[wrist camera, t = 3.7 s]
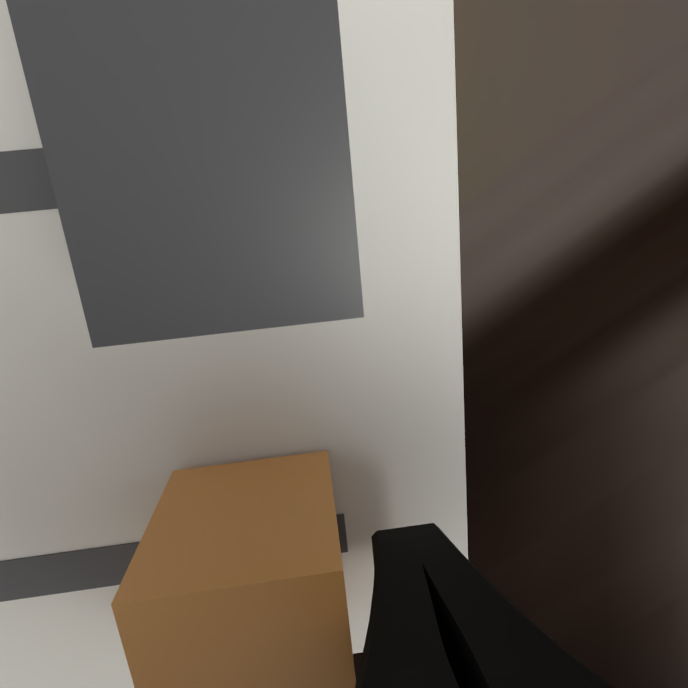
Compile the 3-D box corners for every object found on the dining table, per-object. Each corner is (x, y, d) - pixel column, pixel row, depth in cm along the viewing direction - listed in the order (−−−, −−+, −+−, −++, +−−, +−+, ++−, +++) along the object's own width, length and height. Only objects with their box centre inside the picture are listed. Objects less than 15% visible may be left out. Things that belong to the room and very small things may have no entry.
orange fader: (347, 618, 11) (368, 789, 8) (209, 639, 11) (172, 823, 8) (328, 450, 10) (343, 570, 7) (172, 470, 10) (111, 603, 7)
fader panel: (451, 589, 14) (470, 637, 12) (-236, 693, 13) (-309, 760, 11) (427, -44, 9) (451, -91, 8) (-614, 26, 8) (-814, -13, 7)
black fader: (339, 276, 9) (363, 317, 6) (168, 294, 9) (92, 348, 6) (314, 9, 8) (326, -132, 5) (114, 23, 8) (-22, -112, 4)
